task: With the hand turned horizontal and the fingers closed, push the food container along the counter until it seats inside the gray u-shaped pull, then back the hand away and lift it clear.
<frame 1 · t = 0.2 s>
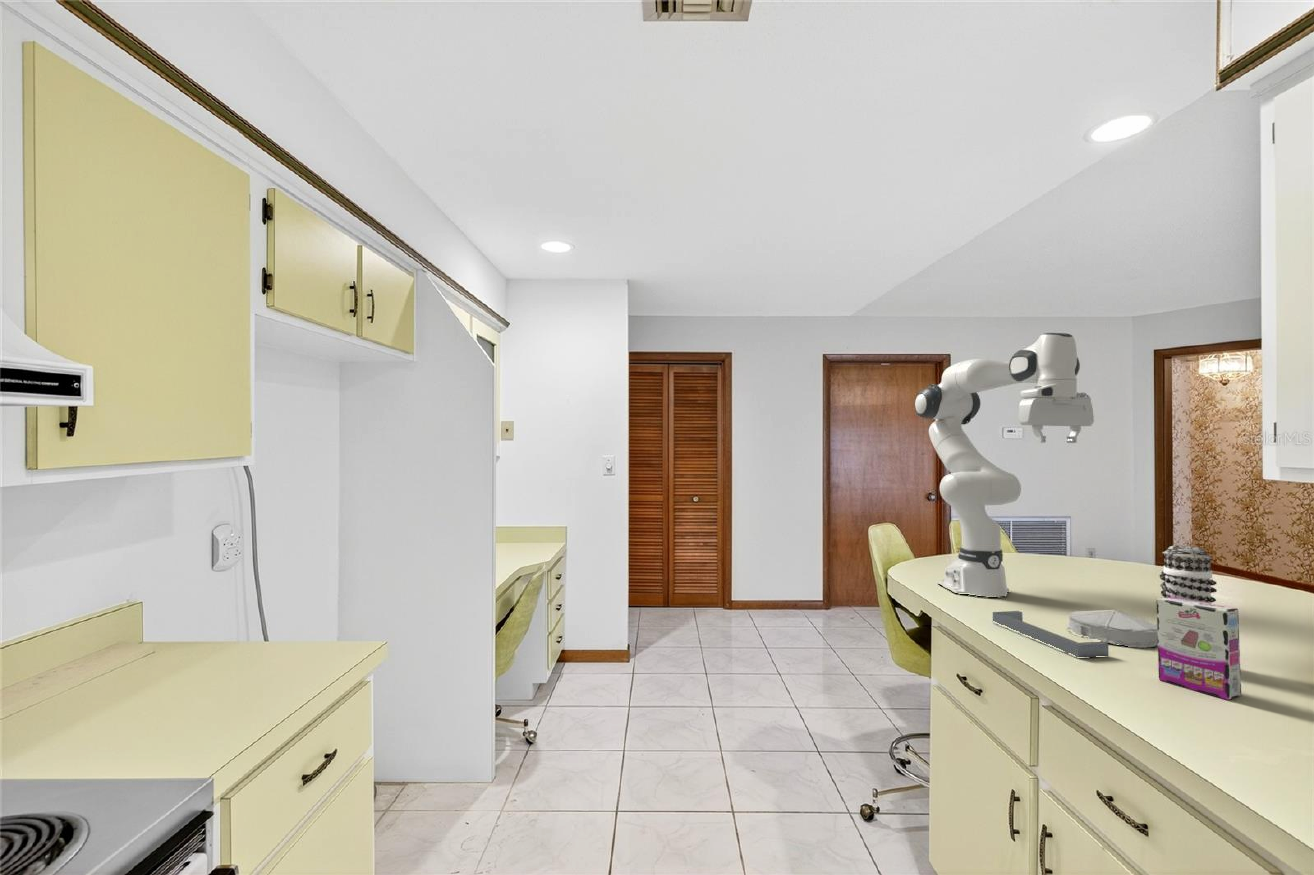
hand: (1056, 442, 161), 48 cm above the kitchen counter, tool pointing down, fingers open, 8 cm apart
candy bar box: (1198, 689, 115), on the kitchen counter
food container: (1113, 637, 147), on the kitchen counter
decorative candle: (1189, 665, 127), on the kitchen counter
gray u-shaped pull: (1048, 638, 145), on the kitchen counter
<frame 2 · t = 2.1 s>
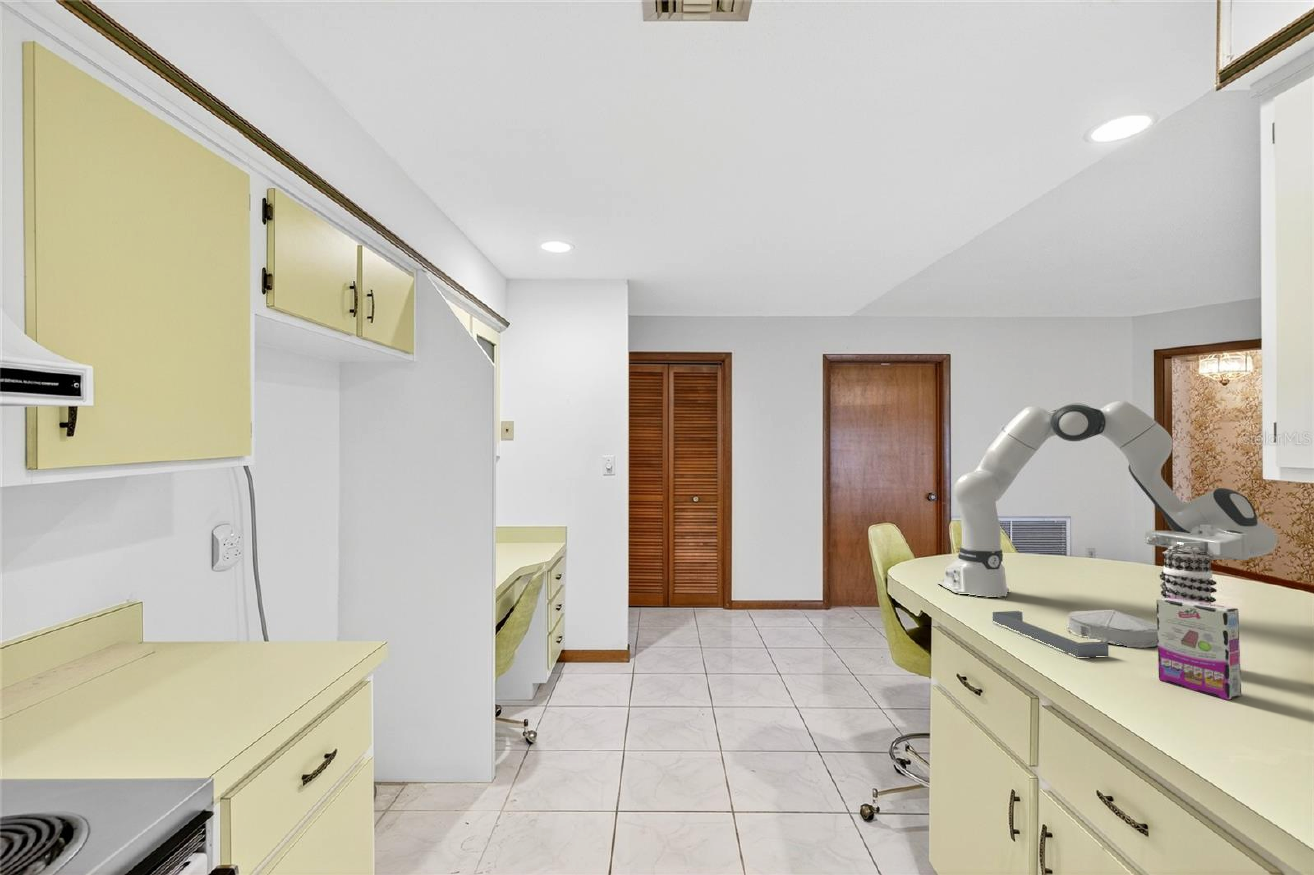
hand: (1164, 543, 150), 22 cm above the kitchen counter, tool horizontal, fingers open, 7 cm apart
nothing on the kitchen counter moved.
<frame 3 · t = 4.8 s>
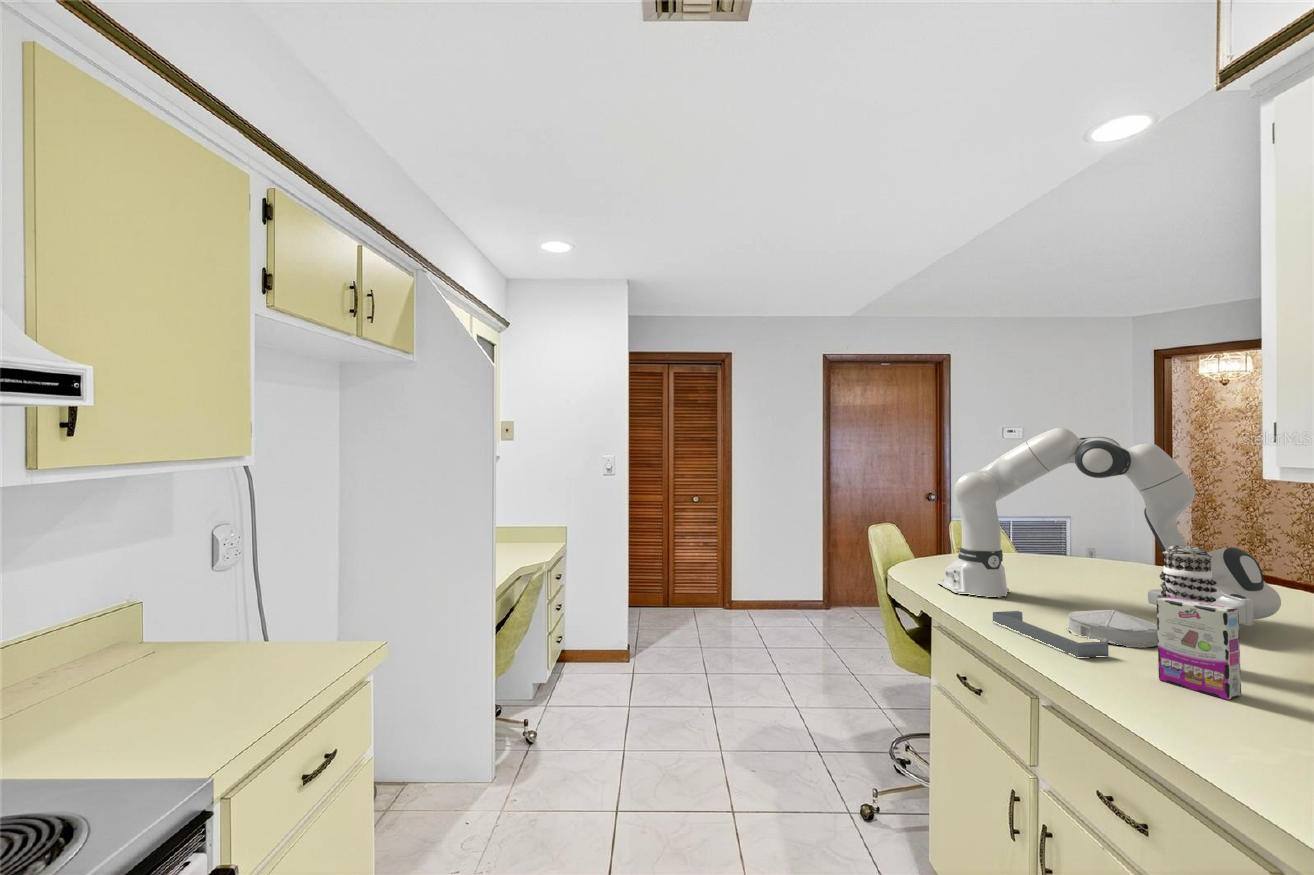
hand: (1167, 606, 149), 6 cm above the kitchen counter, tool horizontal, fingers closed
nothing on the kitchen counter moved.
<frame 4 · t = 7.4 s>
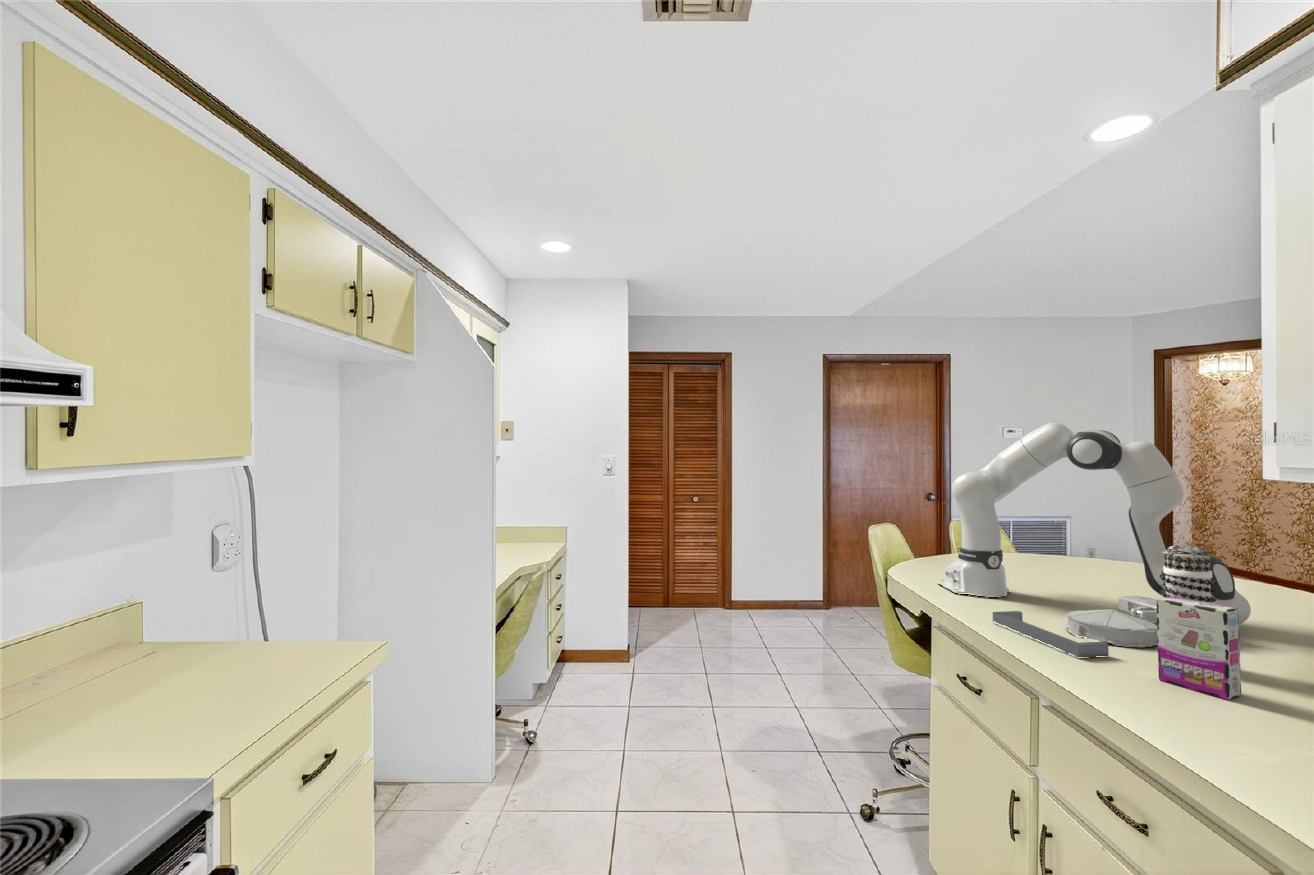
hand: (1136, 613, 148), 5 cm above the kitchen counter, tool horizontal, fingers closed
food container: (1111, 637, 147), on the kitchen counter, touching gripper
everything else where it was.
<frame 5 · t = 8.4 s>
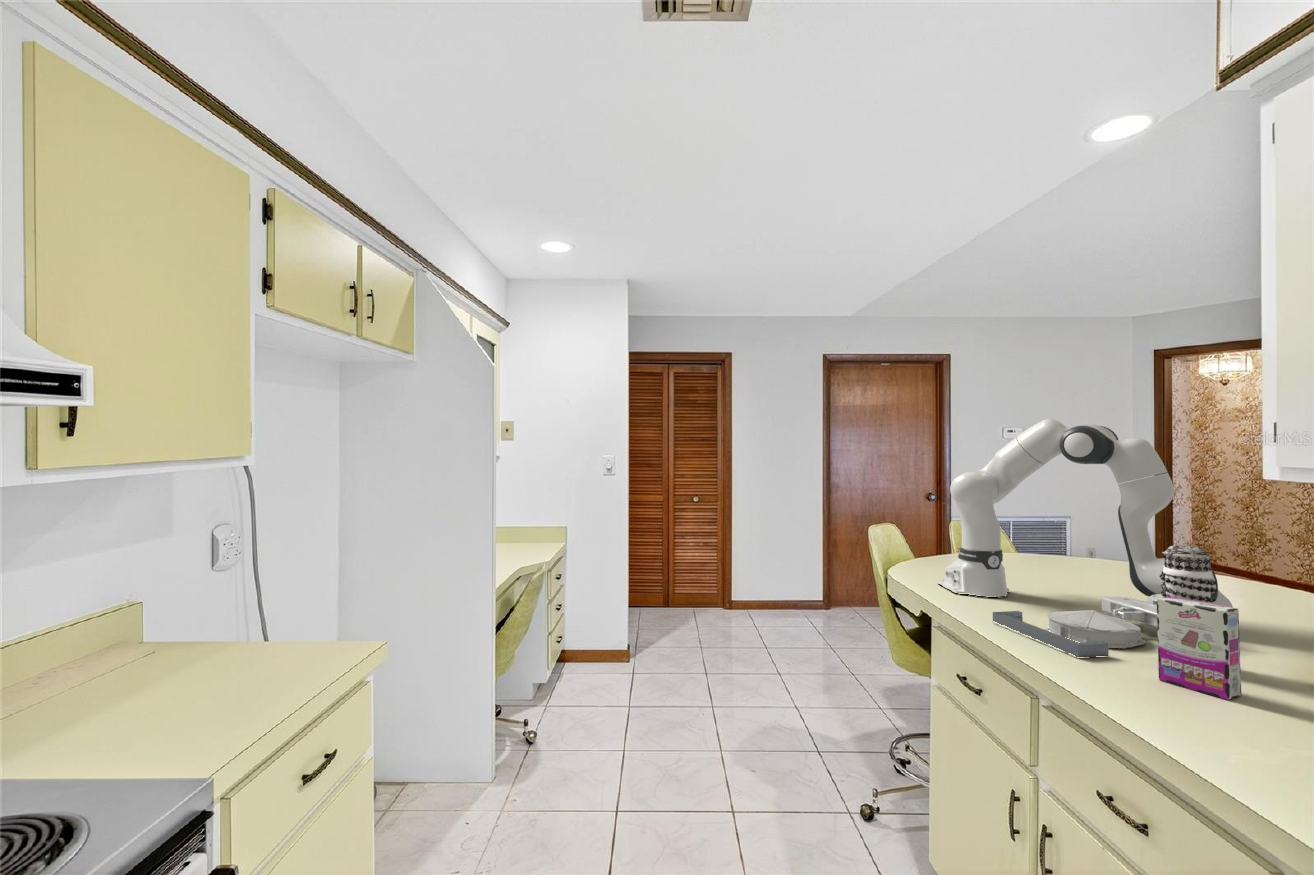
hand: (1118, 614, 148), 5 cm above the kitchen counter, tool horizontal, fingers closed
food container: (1092, 638, 146), on the kitchen counter
everything else where it was.
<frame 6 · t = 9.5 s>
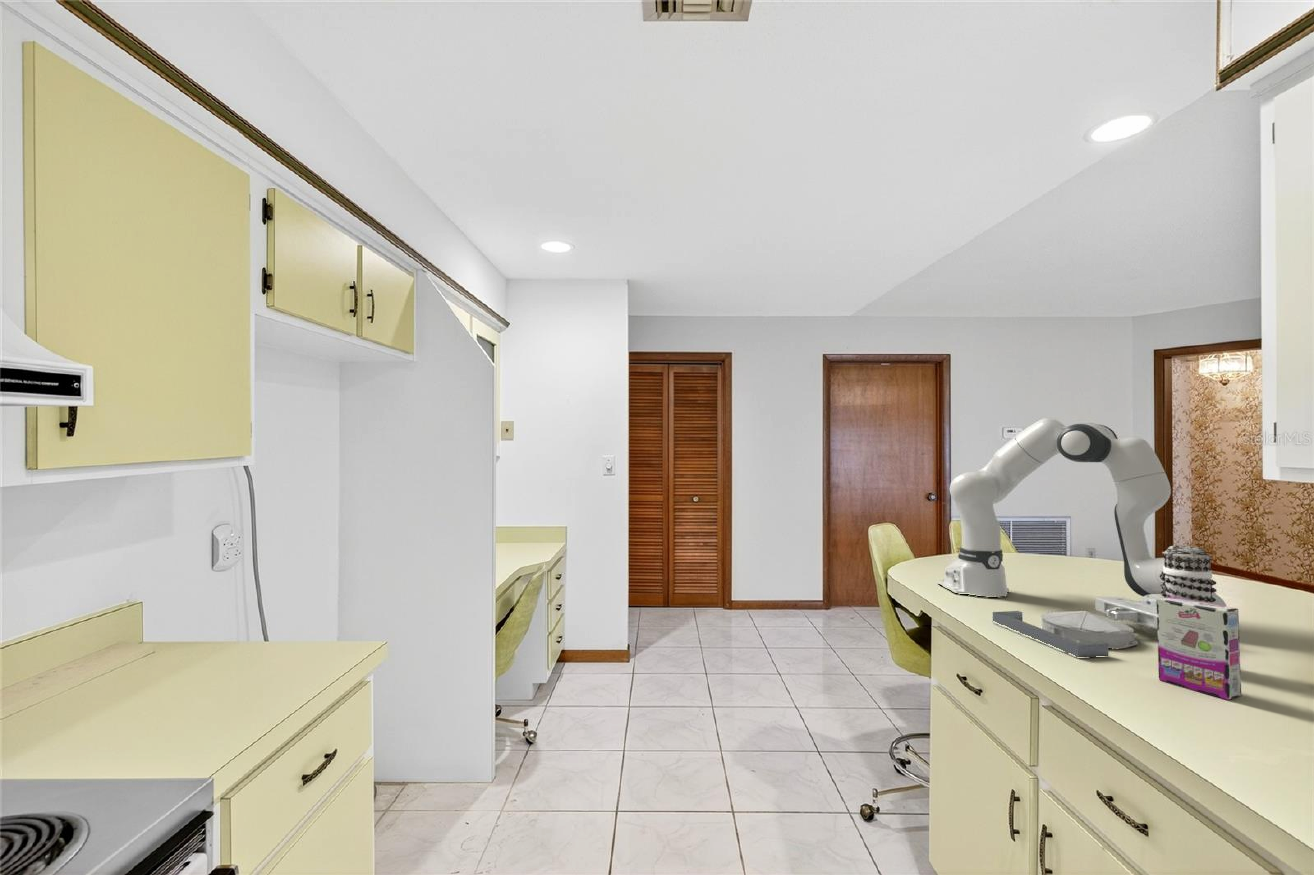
hand: (1111, 614, 147), 5 cm above the kitchen counter, tool horizontal, fingers closed
food container: (1085, 639, 146), on the kitchen counter
everything else where it was.
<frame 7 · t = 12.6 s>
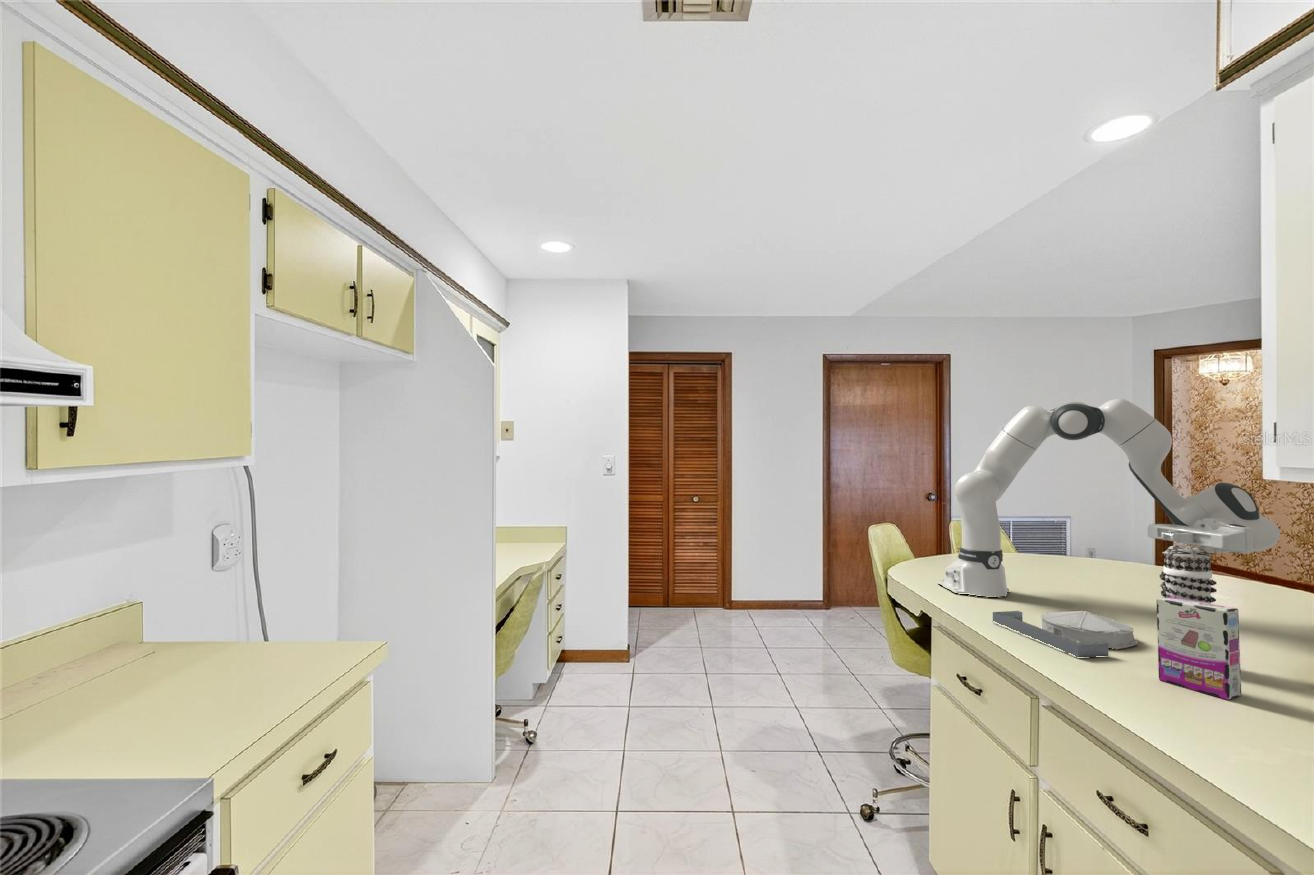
hand: (1166, 536, 150), 24 cm above the kitchen counter, tool horizontal, fingers closed
nothing on the kitchen counter moved.
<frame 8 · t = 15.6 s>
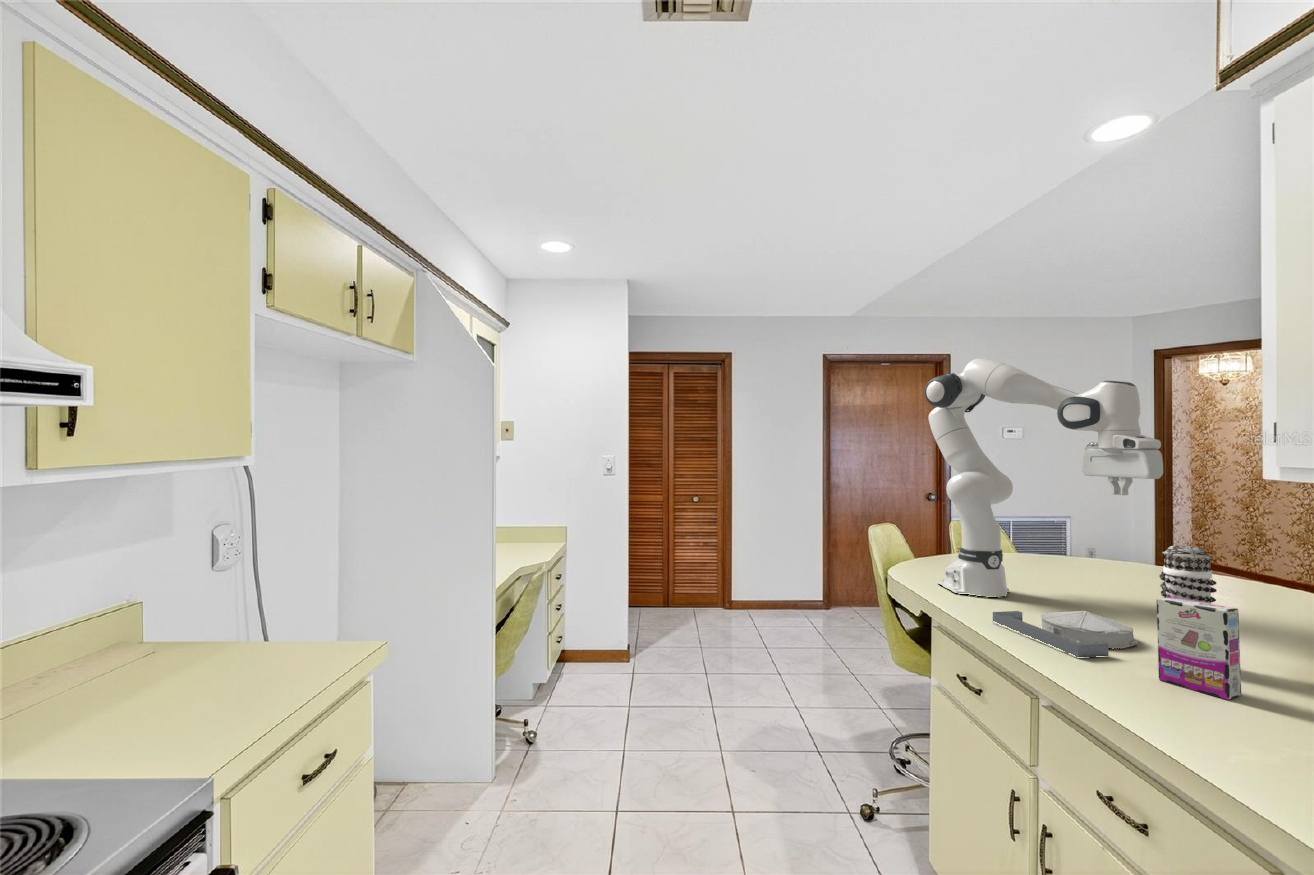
hand: (1120, 494, 155), 34 cm above the kitchen counter, tool pointing down, fingers closed
nothing on the kitchen counter moved.
at the end: food container inside the target area on the kitchen counter beside the gray u-shaped pull (3.3 cm from its centre), on the kitchen counter; food container moved 7.8 cm from its start; the gripper is holding nothing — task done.
